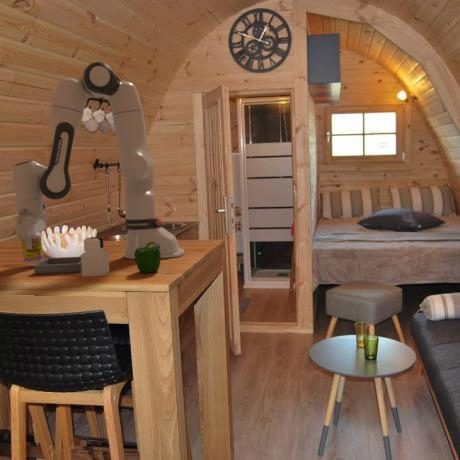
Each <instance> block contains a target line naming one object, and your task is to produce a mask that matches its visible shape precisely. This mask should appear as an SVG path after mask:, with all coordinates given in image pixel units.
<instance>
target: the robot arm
mask: <svg viewBox="0 0 460 460" xmlns="http://www.w3.org/2000/svg"><path fill="white" fill-rule="evenodd" d="M102 99H106V100H107V101H108V103H109V105H110V109H111V110H110V111H111V114H112V115H111V116H112V121H113V127H114V130H115V131H114V132H115V137H116V146H117V156H118V162H119V169H120V172H121V175H122V176H123V178H124V207H125V208H124V209H125V210H124V211H125V219H124V230H125V234H126V241H125V242H126V243H125V249H124V256H123V257H124V258H125V259H132V260H135V254H134V253H135V250H136V249H137V248H144V247H146V245H147V243H148V242H151V241H154V242H155V243H154V244H150V245H149V248H151V247H158V248H159V250H160V252H161V259H171V258H179V257H181V256H183V255H185V249H184V248H182V247H179V243H178V240H177V237H176V236H175V235H174V234H173V233H171V232H169V231H168V230H167V229H165V228H164V227H162V226H163V224H162V223H163V221H162V218H159V217H157V215H156V214H157V213H156V201H155V200H156V198H155V197H156V196H155V163H154V159H153V158H152V156H151V155H150V150H149V149H150V148H149V143H148V135H147V134H148V131H147V126H146V121H145V116H144V110H143V105H142V102H141V98H140V94H139V92H138V90H137V87H136V85H135V84H134V83H132V82H130V81H126V80H124V81H123V80H122V81H121V80H120V78H119V76H118V75H117V74H116V73H115V71H114V70H113V69H112V68H111V67H110V66H109V65H108V64H107V63H105V62H102V61H95V62H92V63H90V64H88V65H87V66H86V67H85V69H84V71H83V74H82V76H80V77H79V78H72V77H64V78H62V79H61V80H59V81H58V84H57V86H56V89H55V91H54V94H53V97H52V101H51V106H50V111H49V128H50V130H51V135H52V145H51V153H50V158H49V162H48V165H47V166H46V165H42V164H41V163H39V162H36V161H35V160H27V161H23V162H19V163H16V164H15V165H14V166H13V167H12V173H11V174H12V177H11V178H12V188H13V190H14V193H15V198H14V204H15V205H14V206H15V213H16V215H17V216H16V218H15V231H16V232H15V234H16V237H17V238H18V239H21V238H24V242H25V244H26V248H27V249H32V248H33V244H32V243H31V236H32V235H34V234H36V233H37V232H39V233H40V234H41V235H42V232H43V231H45V230H46V227H47V218H46V217H47V216H46V210H47V205H46V203H44V202H43V200H42V199H43V198H42V196H45V197H46V198H48V199H50V200H55V201H56V200H60V199H63V198H65V197H66V196H67V195H68V194H69V193H70V191H71V186H72V184H71V183H72V182H71V177H70V175H69V165H70V159H71V153H72V149H73V145H74V142H75V138H76V137H77V134H78V132H79V130H80V127H81V124H82V121H83V117H84V112H85V109H86V108H85V107H86V104H87V101H88V100H102ZM36 226H37V229H36Z"/></svg>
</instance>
